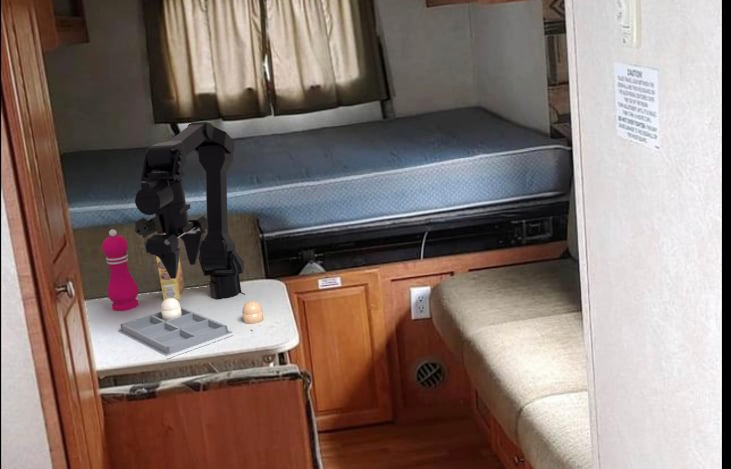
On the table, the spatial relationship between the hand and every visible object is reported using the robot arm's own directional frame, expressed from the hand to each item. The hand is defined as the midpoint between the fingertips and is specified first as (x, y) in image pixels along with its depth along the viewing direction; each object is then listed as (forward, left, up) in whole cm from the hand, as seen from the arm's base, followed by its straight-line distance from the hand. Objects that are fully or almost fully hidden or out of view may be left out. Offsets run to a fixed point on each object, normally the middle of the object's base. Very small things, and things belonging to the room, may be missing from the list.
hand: (183, 271), depth 209 cm
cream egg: (+1, -6, -12) cm, 14 cm away
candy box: (-8, -23, -14) cm, 28 cm away
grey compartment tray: (+5, +1, -13) cm, 14 cm away
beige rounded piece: (-10, +10, -13) cm, 19 cm away
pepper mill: (+4, -25, -14) cm, 29 cm away
